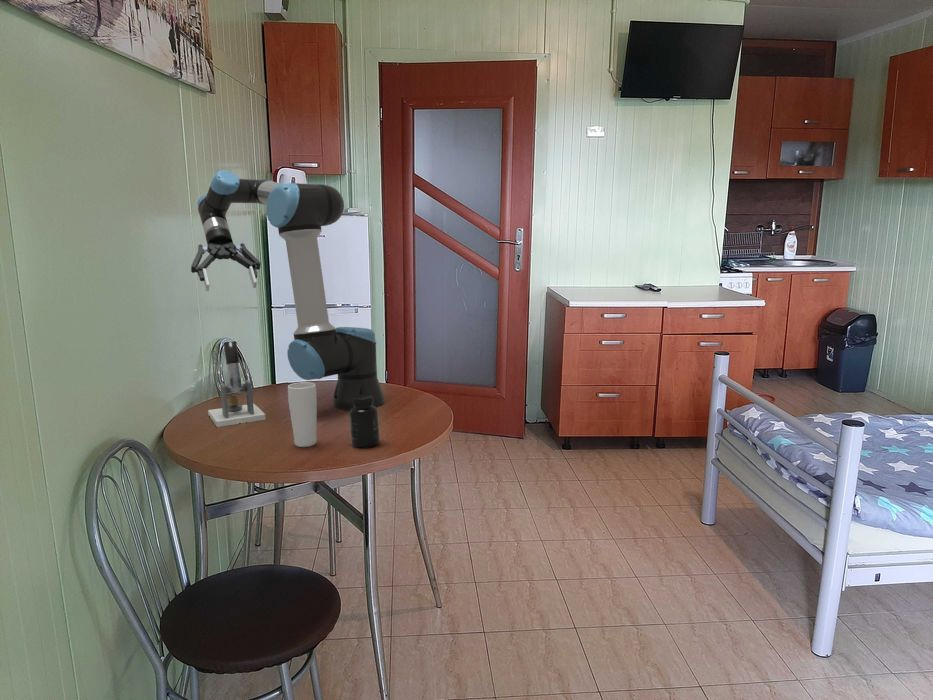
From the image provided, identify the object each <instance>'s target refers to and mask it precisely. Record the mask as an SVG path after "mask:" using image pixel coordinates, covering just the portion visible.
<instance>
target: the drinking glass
mask: <svg viewBox="0 0 933 700" xmlns="http://www.w3.org/2000/svg"><path fill="white" fill-rule="evenodd" d="M317 397H318V394H317V384H316V383H314V382H312V381H311V382H310V381H301V382H295V383H291V384H288V386H287V399H288V400H287V401H288V408H289V413H290V420H291V421H290V422H291V428H292V432H293V439H294V440H293V443H294V445H295V447H298V448H308V447H312V446H314V445H315V444H317V420H318V419H317V414H318V411H317V410H318V398H317Z"/></svg>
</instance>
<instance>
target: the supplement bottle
mask: <svg viewBox="0 0 933 700" xmlns="http://www.w3.org/2000/svg"><path fill="white" fill-rule="evenodd" d="M372 404H373V397H372V396H371V395H357V396H354V397H353V406H354V407H353V408H352V409H351V410H350V411H349V421H350V422H349V424H350V426H349V427H350V437H351V439H350V440H351V445H352V446H353V447H355V448H358V449H367V448H373V447H376V446H377V445H379V444H380V427H379V425H380V424H379V411H378V409H377V407H375V406H373V405H372Z"/></svg>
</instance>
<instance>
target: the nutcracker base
mask: <svg viewBox="0 0 933 700" xmlns="http://www.w3.org/2000/svg"><path fill="white" fill-rule="evenodd" d="M245 383H246V387H247V391H245V392H246V396H245V397H246V404H243V405H242V404H239V403H240V399H239V396H237V395H230V396H229V397H228V396H227V395H228V394H227V392H226V386H227V385H225V384H224V383H221V382H220V383H219V387H220V388H219V389H220V397H221V398H220V399H221V408H214V409H208V410H207V415H208V416H210V417H209V419H210V420H211V421H212V422H213V424H214V425H215V426H216V427H217V428H221V427H226V426H227V427H228V426H233V425H239V423H241V424H246V422H247V423H252V422H253V423H254V422H258V421H259V422H260V421H266V419H267V418H266V413H265V412H263V410H261V409H260V408H259V407H258V405H256V404H255V403H254V397H253V385H252V384H253V383H252V382H251V381H250V380H249V379H246V380H244V384H245Z"/></svg>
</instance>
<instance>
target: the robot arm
mask: <svg viewBox="0 0 933 700" xmlns="http://www.w3.org/2000/svg"><path fill="white" fill-rule="evenodd" d="M232 204H258V205H264V206H265V205H266V209H265V210H266V211H265V213H266V217H267V220H268V221H269V223H270V224H271V226H273V228H274V227H275V228H277V229H278V236H279V237H280V238H282V239H283V240H284V241H285V246H286V251H287V259H288V260H287V261H288V265H289V273H290V280H291V281H290V282H291V288H292V292H293V293H292V294H293V300H294V308H295V314H296V321H297V328H296V329H295V330H294V332H293V340H292V341H291V342H290V343H289V344H288V348H287V353H286V354H287V360H288V363H289V366H290V367H291V369H292V371H293V372H294V373H295V375H297V377H299V378H301V379H303V380H306V381H310V380H311V381H312V380H320V379H323V378H326V377H330V376H335V375H337V382H336V385H335V388H334V392H333V396H332V403H333V404H332V405H333V407H334V408H336V409H340V410H341V409H342V410H351V409H352V408H353V407H354V406H353V397H354V396H357V395H371V396H372V397H373V404H372V405H373V406H375V407H376V408H377V407H380V406H381V404H382V405H383V404H384V403H385V396H384V392H383V389H382V387H381V384H380V382H379V379H378V369H377V342H376V335H375V331H374V330H373V329H370V328H366V327H354V326H352V327H351V326H339V327H335V326H334V325H332V324H331V323H330V320H329V312H328V306H327V305H328V304H327V300H326V299H327V298H326V292H325V291H326V290H325V285H324V278H323V277H324V276H323V270H322V262H321V256H320V248H319V241H318V237H319V235H320V234H321V233H322V231H323V230H322V227H327V226H331V225H333V224H335V223H336V222H338V221H339V219H340V218H341V217H342V215H343V213H344V209H345V202H344V198H343V196H342V194H341V192H340V191H338V190H337V189H336V188H335V187H333V186H330V185H326V184H321V183H320V184H314V183H297V182H290V183H289V182H287V183H283V182H277V181H273V180H270V179H249V178H247V179H245V178H239V177H238V176H237V174H235V173H234V172H231V171H230V172H229V170H225V169H221V170H219V171H217V172H216V173H215V174H214V176H213V177H212V179H211V182H210V185H209V188H208V190H207V193H205V194H203V195H201V196H200V197H199V198H198V200H197V210H198V214H199V217H200V222H201V223H202V224H201V225H202V228H203V232H204V237H205V240H206V244H207V246H203V245H202V244H198V246H197V247H198V248H197V252H196V254H195V256H194V259H193V260H192V263H191V265H190V266H191V267H190V272H191V273H192V274H194V273H197V276H198V279H199V280H200V282H203V283H204V286H205V287H204V288H205V291H206V292H209V291H210V282H209V278H208V274H207V268H208V267H210V265H211V264H212V263H213V262H214V261H215V260H216V259H217V260H231V261H234V262H237V263H238V264H240V265H241V266H242V267H244V268H245V269H248V275H249V278H250V281H251V285H252V288H253V289H256V288H257V283H258V282H257V278H258V270H261V265H262V262H261V261H260V260H259V259H257V257H256V256H254V254H252V253H251V252H250V251H249V249H248V248H247V246H246V245H245V243H243V242H241V243H240V245H235V243H234V241H233V238H232V233H231V231H230V226H229V224H228V220H227V212H228V210H229V208H230V206H231V205H232ZM206 253H208V255H207V256H206V258H205V259H203V261H202V262H201V260H202V258H203V255H205V254H206ZM200 262H201V263H200Z"/></svg>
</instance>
